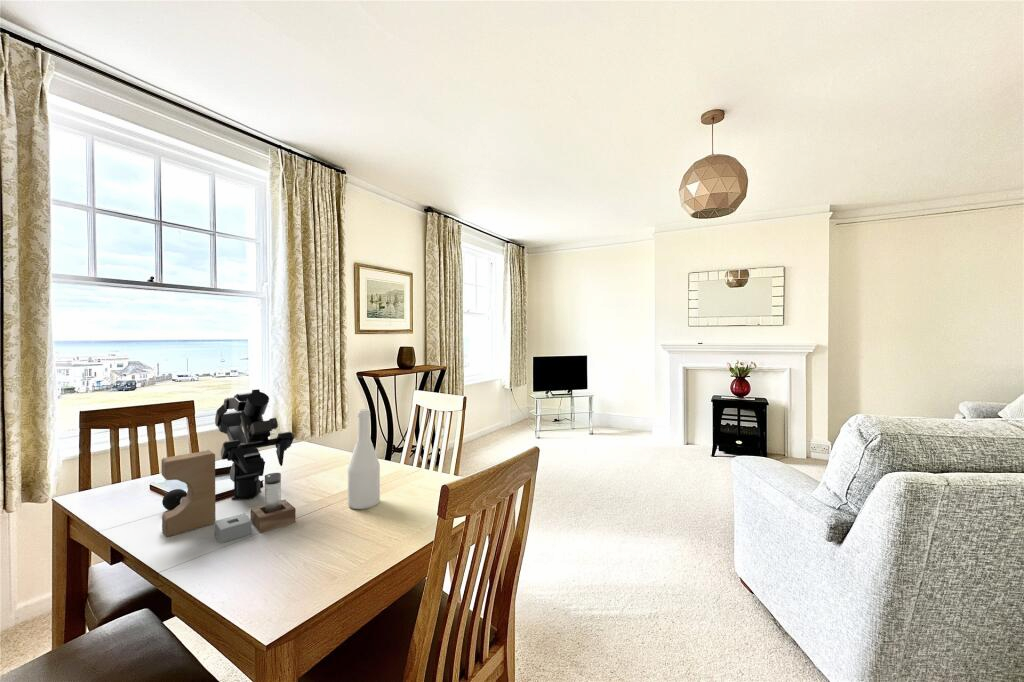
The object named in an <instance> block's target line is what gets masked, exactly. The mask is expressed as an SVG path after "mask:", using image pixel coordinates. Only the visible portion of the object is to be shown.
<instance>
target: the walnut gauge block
mask: <svg viewBox="0 0 1024 682" xmlns="http://www.w3.org/2000/svg"><path fill="white" fill-rule="evenodd" d="M296 509H297V508H296V507H294V505H292V504H291V503H290V502H289V501H288V500H287V499H286V498H285V499H281V510H278V511H275V512H271V513H268V514H265V504H262V505H258V506H254V507H250V520H251V521H252V527H254V528H255V529H256V530H257V531H258V533H260V534H261V533H264V532H267V531H270V530H271V531H272V530H274V529H277V528H281V527H285V526H288V525H290V524H294V523H296V517H297V516H296V511H297V510H296Z"/></svg>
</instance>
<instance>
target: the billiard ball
mask: <svg viewBox="0 0 1024 682" xmlns="http://www.w3.org/2000/svg"><path fill="white" fill-rule="evenodd" d="M186 496H187V491H186V490H184V489H182V488H175V489H173V490H172V489H171V490H169V491H167V492H166V494H165V495H164V496H163V498H162V501H161V504H162V506H163V508H164V509H166V510H167V511H168V510H169V511H171V510H173V509H175V508H176V507H177V506H178V505H179V504H181V503H182V501H183V500H184V499H185V497H186Z"/></svg>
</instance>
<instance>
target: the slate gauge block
mask: <svg viewBox="0 0 1024 682" xmlns="http://www.w3.org/2000/svg"><path fill="white" fill-rule="evenodd" d="M213 525H214V530H213V531H214V536H215V537H216V538H217V540H218V542H219V543H220V544H223V543H225V542H229V541H232V540H235V539H239V538H242V537H246V536H250V535H253V534H252V533H253V532H252V531H253V530H252V529H253V524H252V521H251V518H250V516H248V515H247V514H246V513H245V512H242V513H239V514H235V515H232V516H228V517H224V518H221V519H217V520H216V521H214V524H213Z"/></svg>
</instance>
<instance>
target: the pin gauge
mask: <svg viewBox="0 0 1024 682" xmlns="http://www.w3.org/2000/svg"><path fill="white" fill-rule="evenodd" d="M281 500H282V474H281V473H280V472H272V473H268V474H265V475H264V505H265V514H268V513H271V512H275V511H278V510H281Z"/></svg>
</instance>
